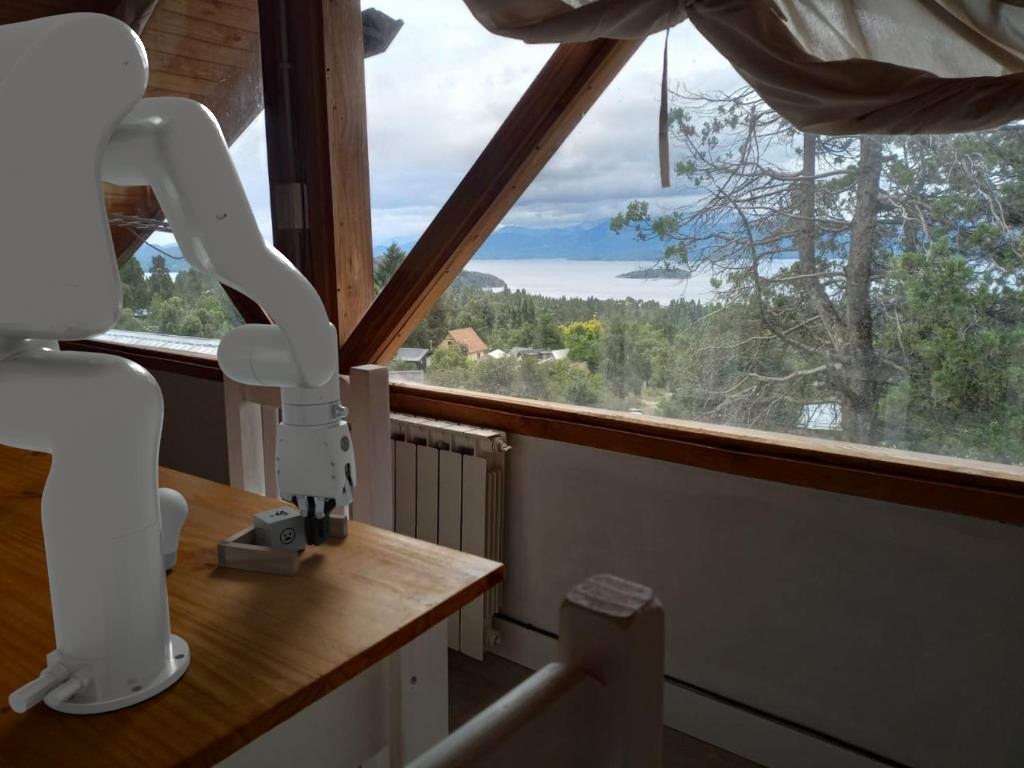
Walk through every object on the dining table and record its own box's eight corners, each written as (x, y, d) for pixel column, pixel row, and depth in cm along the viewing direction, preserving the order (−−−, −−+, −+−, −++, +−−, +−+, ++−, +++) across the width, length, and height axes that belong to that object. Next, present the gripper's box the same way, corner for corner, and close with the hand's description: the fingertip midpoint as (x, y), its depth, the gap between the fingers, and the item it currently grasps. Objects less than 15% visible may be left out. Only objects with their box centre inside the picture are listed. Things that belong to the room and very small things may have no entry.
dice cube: (305, 548, 98) (303, 514, 97) (271, 558, 95) (269, 523, 94) (288, 538, 102) (286, 505, 101) (255, 548, 98) (252, 514, 98)
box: (293, 576, 90) (291, 554, 89) (218, 565, 93) (217, 544, 92) (347, 534, 103) (347, 515, 103) (281, 526, 106) (280, 508, 106)
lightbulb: (182, 555, 96) (175, 478, 94) (199, 569, 92) (193, 489, 90) (133, 569, 92) (126, 488, 90) (149, 584, 87) (141, 500, 85)
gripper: (375, 410, 95) (379, 537, 99) (279, 403, 99) (286, 526, 103) (348, 423, 88) (353, 559, 91) (245, 415, 92) (254, 546, 95)
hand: (318, 541), depth 97 cm, fingers closed
